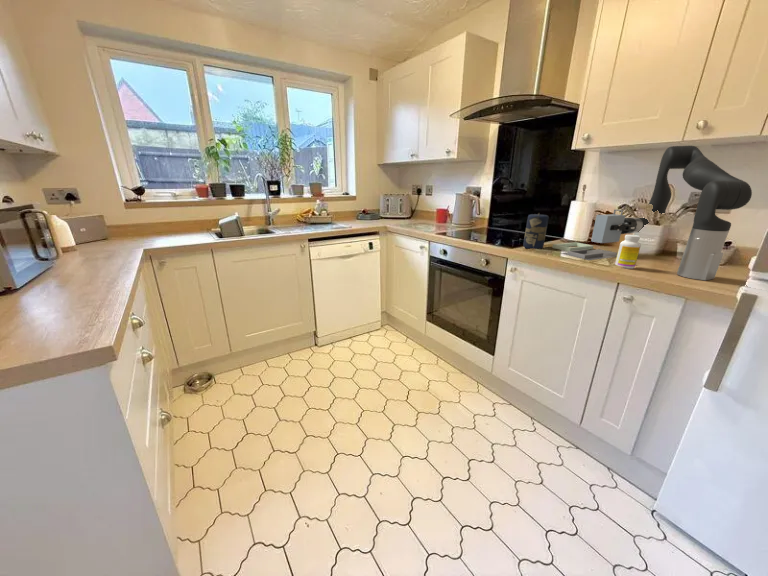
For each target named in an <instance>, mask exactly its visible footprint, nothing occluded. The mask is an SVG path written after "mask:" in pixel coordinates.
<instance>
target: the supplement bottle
mask: <svg viewBox="0 0 768 576" xmlns="http://www.w3.org/2000/svg"><path fill="white" fill-rule="evenodd" d="M640 238H641V236H640V235H638V234H637V235H636V234H624V240H621V242H620V243H619V247H618V250H617V253H618V254H617V257H615V262H614V265H616V266H617V267H621V268H622V269H629V270H631V269H632V270H633V269H635V267H636V266H637V265H636V264H637V262H638V261H637V260H638V258H639V253H640V249H641V245H642V244H641V243H640V242H639V240H640Z"/></svg>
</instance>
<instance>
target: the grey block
mask: <svg viewBox="0 0 768 576" xmlns="http://www.w3.org/2000/svg"><path fill="white" fill-rule="evenodd" d="M616 212H620V214H617V213H616ZM625 218H626V214H624V209H615V208H614V209H613V213H611V214H596V218H595V222H594V226H593V229H592V236H591V242H592V243H593V242H594V243H598V244H599V243H600V244H608V243H619V242H620V238H621V236H622V234H621V231H617V230H610V227H611V225H620V223H624V219H625Z"/></svg>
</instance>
